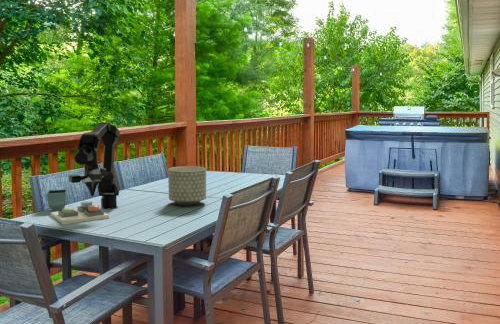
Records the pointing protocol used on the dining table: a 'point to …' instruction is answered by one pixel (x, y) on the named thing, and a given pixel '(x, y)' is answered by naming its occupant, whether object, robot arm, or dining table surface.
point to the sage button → (67, 210)
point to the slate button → (85, 204)
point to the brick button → (93, 208)
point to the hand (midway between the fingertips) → (92, 196)
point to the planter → (187, 184)
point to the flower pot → (57, 199)
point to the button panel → (78, 216)
